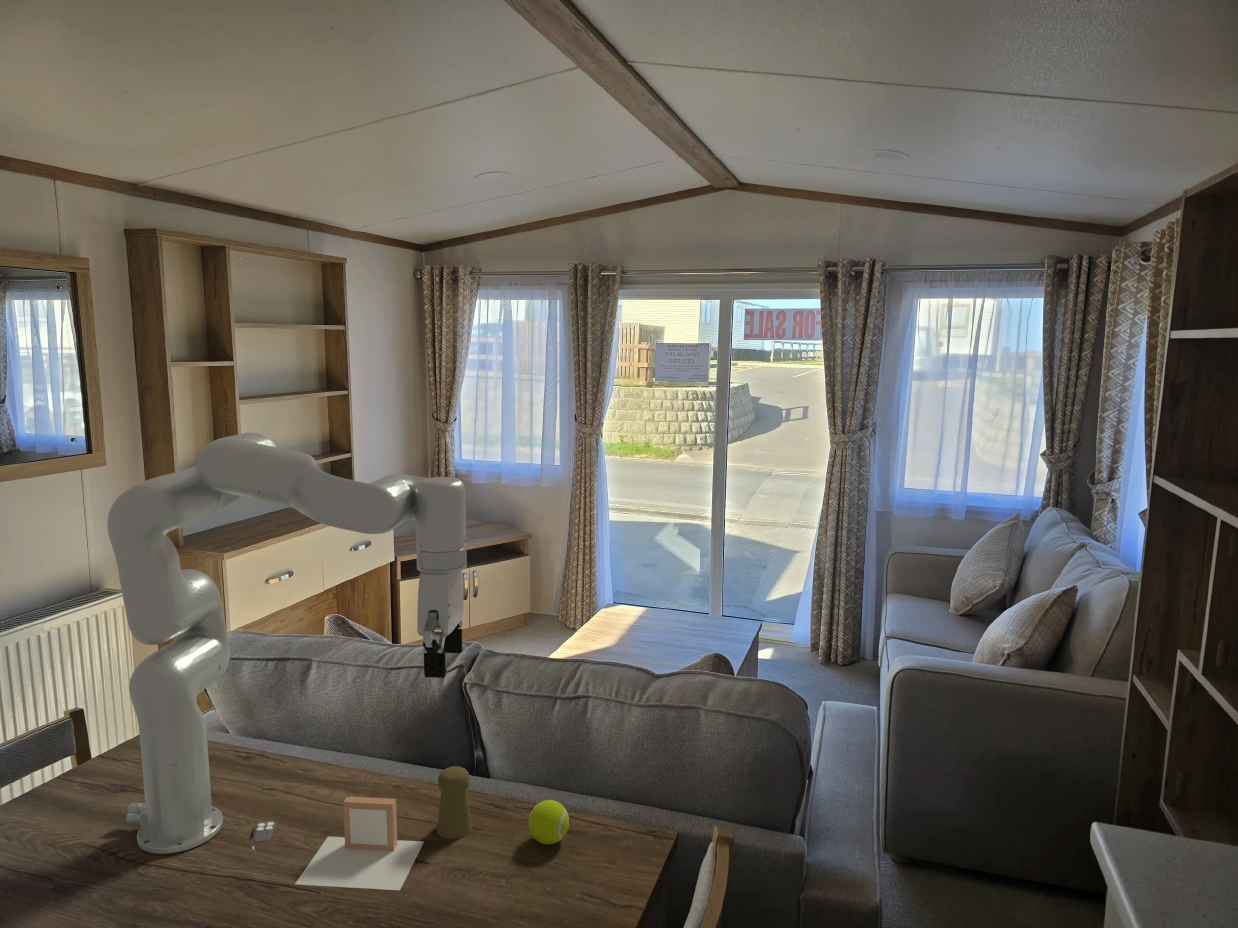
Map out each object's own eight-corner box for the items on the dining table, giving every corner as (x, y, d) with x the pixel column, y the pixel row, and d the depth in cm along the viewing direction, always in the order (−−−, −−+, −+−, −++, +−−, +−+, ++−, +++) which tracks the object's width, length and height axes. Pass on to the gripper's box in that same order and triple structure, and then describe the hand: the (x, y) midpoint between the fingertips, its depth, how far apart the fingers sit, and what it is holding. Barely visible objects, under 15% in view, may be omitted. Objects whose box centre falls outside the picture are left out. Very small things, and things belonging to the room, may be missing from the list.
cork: (464, 844, 135) (463, 782, 133) (430, 839, 136) (428, 777, 135) (478, 823, 141) (477, 763, 139) (445, 819, 142) (443, 759, 140)
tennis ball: (539, 825, 141) (539, 788, 140) (575, 833, 139) (575, 796, 138) (521, 847, 135) (520, 809, 134) (558, 856, 132) (558, 818, 131)
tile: (344, 848, 133) (342, 802, 131) (349, 841, 134) (347, 796, 133) (393, 851, 132) (392, 804, 131) (397, 844, 134) (396, 798, 133)
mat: (295, 887, 124) (294, 883, 124) (328, 839, 136) (327, 836, 136) (399, 893, 123) (399, 889, 123) (424, 844, 135) (423, 841, 135)
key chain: (254, 828, 139) (253, 820, 139) (278, 825, 140) (277, 817, 140) (239, 877, 127) (239, 868, 127) (265, 873, 128) (265, 864, 128)
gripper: (433, 543, 136) (436, 643, 139) (399, 573, 119) (402, 686, 122) (479, 544, 136) (480, 644, 138) (450, 574, 119) (453, 688, 121)
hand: (444, 664), depth 130 cm, fingers open, 9 cm apart
